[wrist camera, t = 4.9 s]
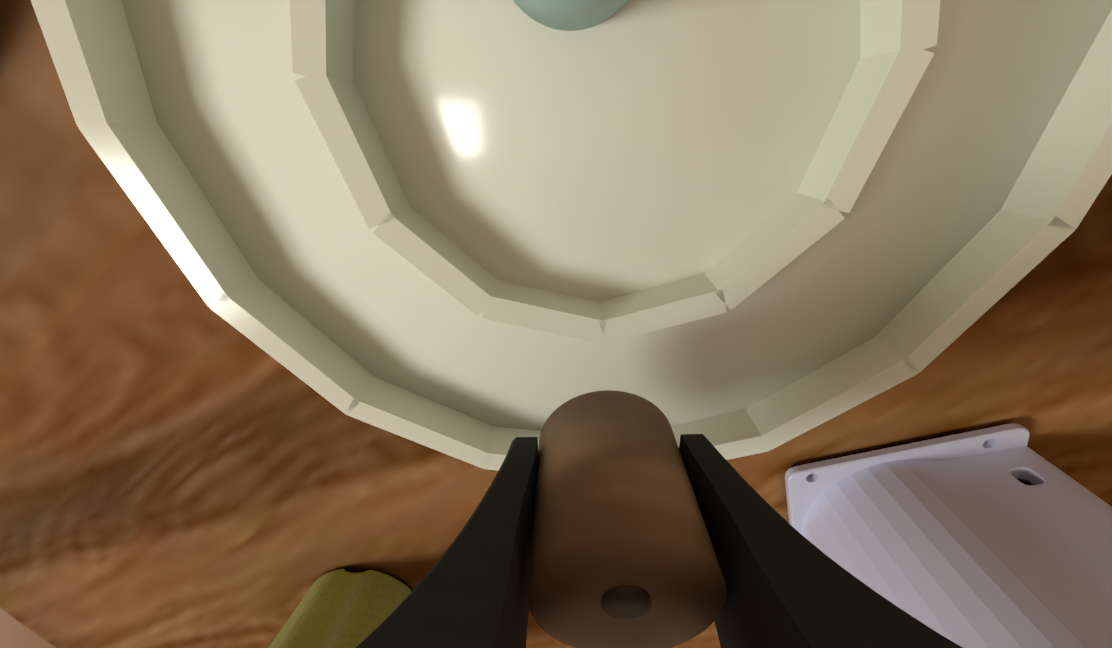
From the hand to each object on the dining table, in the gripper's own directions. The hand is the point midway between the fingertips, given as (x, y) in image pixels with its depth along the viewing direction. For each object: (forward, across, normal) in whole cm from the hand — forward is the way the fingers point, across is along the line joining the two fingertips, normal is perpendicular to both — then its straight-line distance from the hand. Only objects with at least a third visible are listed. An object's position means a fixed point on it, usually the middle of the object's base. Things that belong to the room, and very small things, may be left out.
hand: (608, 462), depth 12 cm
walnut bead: (+1, 0, 0) cm, 1 cm away
